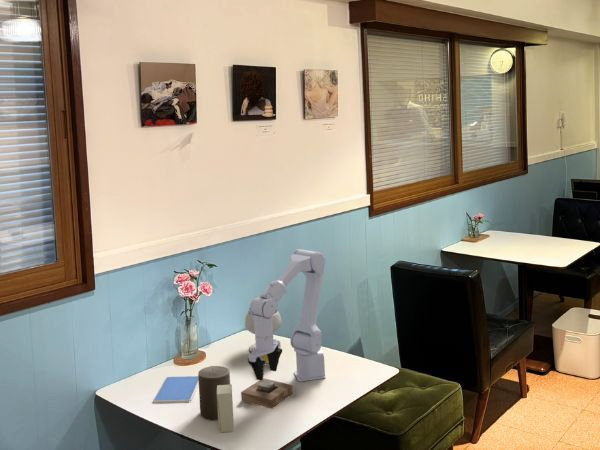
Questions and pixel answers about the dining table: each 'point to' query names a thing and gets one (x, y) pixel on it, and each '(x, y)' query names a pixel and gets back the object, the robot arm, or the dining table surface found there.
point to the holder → (267, 394)
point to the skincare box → (225, 408)
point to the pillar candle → (211, 389)
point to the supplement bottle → (267, 356)
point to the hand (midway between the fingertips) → (266, 375)
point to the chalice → (251, 327)
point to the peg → (266, 387)
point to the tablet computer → (177, 389)
